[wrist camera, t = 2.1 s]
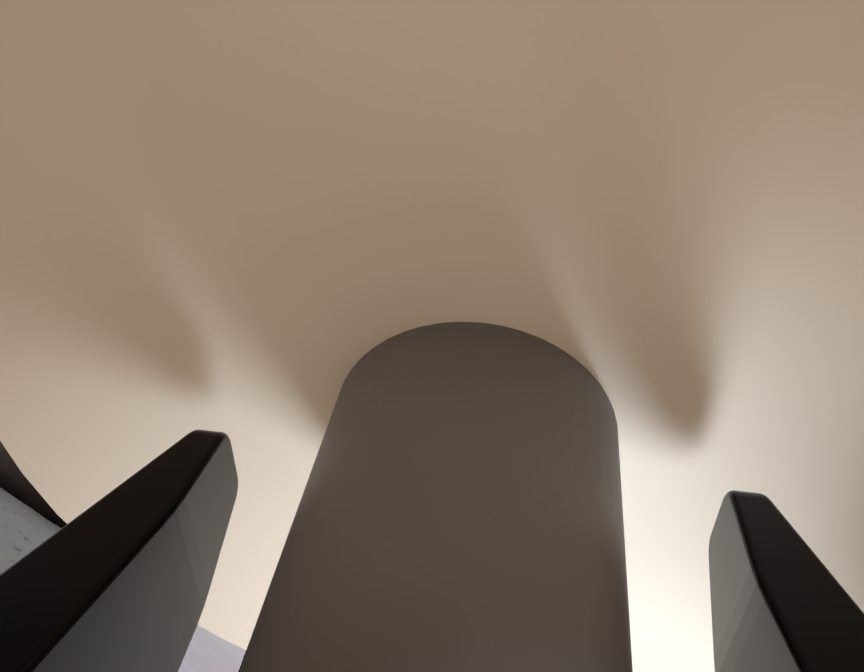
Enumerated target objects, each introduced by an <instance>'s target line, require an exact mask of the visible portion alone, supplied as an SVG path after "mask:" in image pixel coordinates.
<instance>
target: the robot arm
mask: <svg viewBox="0 0 864 672" xmlns="http://www.w3.org/2000/svg"><path fill="white" fill-rule="evenodd" d="M237 491H238V476H237V471H236V466H235V460H234V455H233V450H232V445H231V441H230V438H229V437H228V435H227V434H226V433H223V432H217V431H208V430H194V431H192V432H190V433H188V434H187V435H186V436H184V437H183V438H182V439H180V440H179V441H178V442H176V443H175V444H174V445H172V446H171V447H170V448H168V449H167V450H166V451H164V452H163V453H162V454H160V455H159V456H158V457H156V458H155V459H154V460H152V461H151V462H150V463H148V464H147V465H146V466H144V467H143V468H142V469H140V470H139V471H138V472H136V473H135V474H134V475H132V476H131V477H130V478H128V479H127V480H126V481H124V482H123V483H122V484H120V485H119V486H118V487H116V488H115V489H114V490H112V491H111V492H110V493H108V494H107V495H106V496H104V497H103V498H102V499H100V500H99V501H98V502H96V503H95V504H94V505H92V506H91V507H90V508H88V509H87V510H85V511H84V512H83V513H81V514H80V515H79V516H77V517H76V518H75V519H73V520H72V521H71V522H69V523H68V524H67V525H65V526H64V527H63V528H61V529H60V530H59V531H57V532H56V533H55V534H53V535H52V536H51V537H49V538H48V539H47V540H45V541H44V542H43V543H41V544H40V545H39V546H37V547H36V548H35V549H33V550H32V551H31V552H29V553H28V554H27V555H25V556H24V557H23V558H21V559H20V560H19V561H17V562H16V563H15V564H13V565H12V566H11V567H9V568H8V569H7V570H5V571H4V572H3V573H1V574H0V672H178V670H179V668H180V665H181V663H182V660H183V658H184V656H185V653H186V651H187V649H188V646H189V644H190V641H191V639H192V637H193V634H194V632H195V629H196V627H197V624H198V622H199V619H200V617H201V614H202V611H203V609H204V606H205V602H206V599H207V596H208V593H209V590H210V586H211V583H212V579H213V576H214V572H215V569H216V566H217V562H218V559H219V555H220V552H221V548H222V545H223V542H224V538H225V535H226V531H227V528H228V524H229V521H230V517H231V514H232V511H233V507H234V504H235V500H236V496H237ZM709 575H710V594H711V613H712V632H713V651H714V668H715V672H864V613H863V612H862V610H861V609H860V608H859V607H858V605H857V604H856V603H855V602H854V601H853V599H852V598H851V597H850V596H849V595H848V593H847V592H846V591H845V590H844V588H843V587H842V586H841V585H840V584H839V582H838V581H837V580H836V579H835V578H834V576H833V575H832V574H831V573H830V571H829V570H828V569H827V568H826V567H825V565H824V564H823V563H822V562H821V561H820V559H819V558H818V557H817V556H816V554H815V553H814V552H813V551H812V550H811V548H810V547H809V546H808V545H807V544H806V542H805V541H804V540H803V539H802V537H801V536H800V535H799V534H798V533H797V531H796V530H795V529H794V528H793V527H792V525H791V524H790V523H789V522H788V521H787V519H786V518H785V517H784V516H783V514H782V513H781V512H780V511H779V510H778V508H777V507H776V506H775V505H774V504H773V502H772V501H771V500H770V499H769V498H768V497H767V496H765V495H764V494H761V493H754V492H745V491H736V490H732V491H729V492H727V494H726V495H725V496H724V498H723V501H722V504H721V507H720V510H719V512H718V515H717V518H716V521H715V524H714V527H713V530H712V533H711V536H710V541H709Z"/></svg>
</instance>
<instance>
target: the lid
mask: <svg viewBox="0 0 864 672" xmlns="http://www.w3.org/2000/svg"><path fill="white" fill-rule="evenodd" d="M194 430H208V431H217V432H223V433H226V434H227V435H228V437H229V438H230V441H231V445H232V450H233V455H234V460H235V466H236V471H237V476H238V491H237V496H236V500H235V504H234V507H233V511H232V514H231V517H230V521H229V524H228V528H227V531H226V535H225V538H224V542H223V545H222V548H221V552H220V555H219V559H218V562H217V566H216V569H215V572H214V576H213V579H212V583H211V586H210V590H209V593H208V596H207V599H206V602H205V606H204V609H203V611H202V614H201V617H200V619H199V622H198V624H197V625H199V626H201V627H203V628H204V629H206V630H208V631H210V632H211V633H213V634H215V635H216V636H218V637H220V638H222V639H224V640H226V641H228V642H230V643H232V644H234V645H236V646H239V647H241V648H243V649H245V650H246V653H245V655H244V658H243V661H242V664H241V666H240V669H239V672H715V668H714V651H713V632H712V613H711V594H710V575H709V541H710V536H711V533H712V530H713V527H714V524H715V521H716V518H717V515H718V512H719V510H720V507H721V504H722V501H723V498H724V496H725V495H726V494H727V492H729V491H732V490H736V491H745V492H754V493H761V494H764V495H765V496H767V497H768V498H769V499H770V500H771V501H772V502H773V504H774V505H775V506H776V507H777V508H778V510H779V511H780V512H781V513H782V514H783V516H784V517H785V518H786V519H787V521H788V522H789V523H790V524H791V525H792V527H793V528H794V529H795V530H796V531H797V533H798V534H799V535H800V536H801V537H802V539H803V540H804V541H805V542H806V544H807V545H808V546H809V547H810V548H811V550H812V551H813V552H814V553H815V554H816V556H817V557H818V558H819V559H820V561H821V562H822V563H823V564H824V565H825V567H826V568H827V569H828V570H829V571H830V573H831V574H832V575H833V576H834V578H835V579H836V580H837V581H838V582H839V584H840V585H841V586H842V587H843V588H844V590H845V591H846V592H847V593H848V595H849V596H850V597H851V598H852V599H853V601H854V602H855V603H856V604H857V605H858V607H859V608H860V609H861V610H862V612H863V613H864V0H0V441H1V443H2V444H3V446H4V447H5V449H6V450H7V451H8V453H9V454H10V456H11V457H12V459H13V460H14V462H15V463H16V465H17V466H18V468H19V469H20V471H21V472H22V474H23V475H24V476H25V477H26V478H27V479H28V481H29V482H30V483H31V484H32V485H33V487H34V488H35V489H36V490H37V491H38V492H39V494H40V495H41V496H42V497H43V498H44V500H45V501H46V502H47V503H48V504H49V506H50V507H51V508H52V509H53V510H54V511H55V513H56V514H57V515H58V516H59V517H60V518H61V519H62V520H63V521H64V522H65V523H66V524H68V523H69V522H71V521H72V520H73V519H75V518H76V517H77V516H79V515H80V514H81V513H83V512H84V511H85V510H87V509H88V508H90V507H91V506H92V505H94V504H95V503H96V502H98V501H99V500H100V499H102V498H103V497H104V496H106V495H107V494H108V493H110V492H111V491H112V490H114V489H115V488H116V487H118V486H119V485H120V484H122V483H123V482H124V481H126V480H127V479H128V478H130V477H131V476H132V475H134V474H135V473H136V472H138V471H139V470H140V469H142V468H143V467H144V466H146V465H147V464H148V463H150V462H151V461H152V460H154V459H155V458H156V457H158V456H159V455H160V454H162V453H163V452H164V451H166V450H167V449H168V448H170V447H171V446H172V445H174V444H175V443H176V442H178V441H179V440H180V439H182V438H183V437H184V436H186V435H187V434H188V433H190V432H192V431H194Z"/></svg>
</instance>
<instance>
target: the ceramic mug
mask: <svg viewBox="0 0 864 672" xmlns="http://www.w3.org/2000/svg"><path fill="white" fill-rule="evenodd" d="M60 529H61V527H59V526H57V525H56V524H54V523H52V522H51V521H49V520H47V519H46V518H44V517H43V516H41V515H40V514H39V513H37V512H36V511H35V510H33V509H32V508H30V507H29V506H27V505H26V504H24V503H23V502H21V501H20V500H18V499H17V498H15V497H14V496H12V495H11V494H9V493H8V492H7V491H5V490H4V489H2V488H1V487H0V574H1V573H3V572H4V571H5V570H7V569H8V568H9V567H11V566H12V565H13V564H15V563H16V562H17V561H19V560H20V559H21V558H23V557H24V556H25V555H27V554H28V553H29V552H31V551H32V550H33V549H35V548H36V547H37V546H39V545H40V544H41V543H43V542H44V541H45V540H47V539H48V538H49V537H51V536H52V535H53V534H55V533H56V532H57V531H59V530H60Z"/></svg>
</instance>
